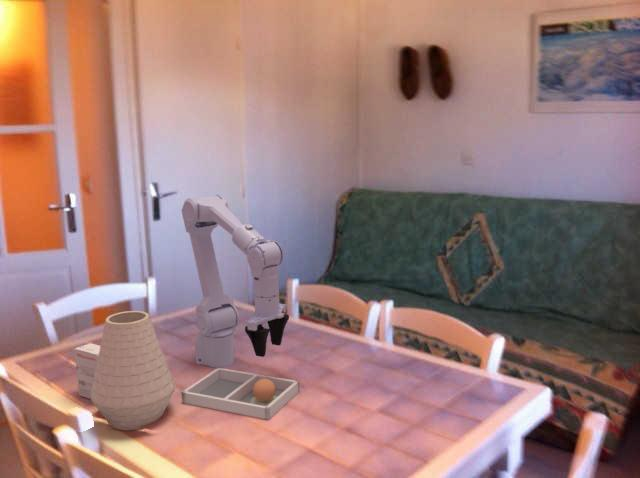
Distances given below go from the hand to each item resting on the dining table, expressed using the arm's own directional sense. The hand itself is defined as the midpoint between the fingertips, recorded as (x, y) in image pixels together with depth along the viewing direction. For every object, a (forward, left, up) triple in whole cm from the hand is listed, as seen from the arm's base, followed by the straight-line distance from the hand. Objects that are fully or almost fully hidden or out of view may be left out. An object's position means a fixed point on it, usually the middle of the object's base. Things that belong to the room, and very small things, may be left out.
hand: (268, 350), depth 152 cm
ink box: (-36, -18, -10) cm, 41 cm away
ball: (+3, -8, -9) cm, 12 cm away
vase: (-20, -24, -10) cm, 33 cm away
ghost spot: (+3, -8, -9) cm, 12 cm away
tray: (-3, -8, -10) cm, 13 cm away
